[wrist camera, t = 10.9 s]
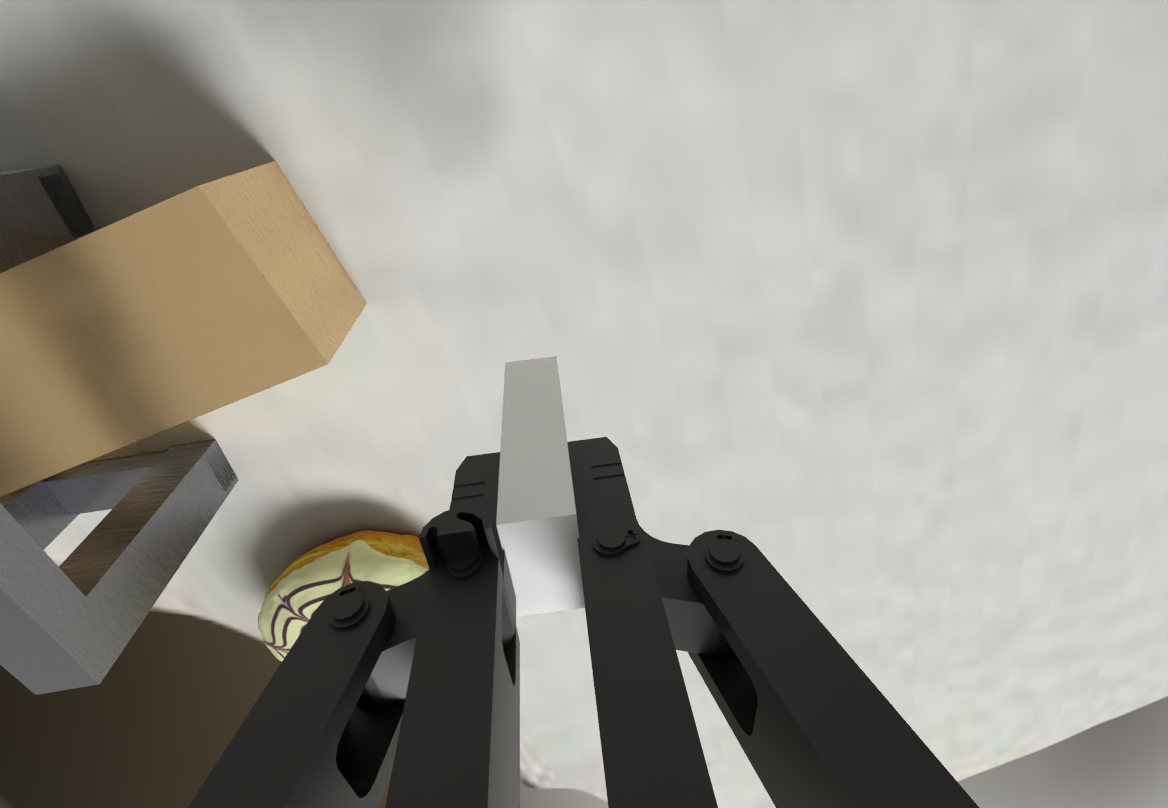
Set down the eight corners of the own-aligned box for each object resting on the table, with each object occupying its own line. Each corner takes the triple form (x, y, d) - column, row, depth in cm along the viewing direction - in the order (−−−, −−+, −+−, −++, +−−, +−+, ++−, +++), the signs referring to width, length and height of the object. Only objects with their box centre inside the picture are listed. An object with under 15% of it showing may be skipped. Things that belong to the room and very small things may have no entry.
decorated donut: (500, 571, 32) (500, 624, 29) (397, 659, 35) (387, 717, 32) (347, 490, 28) (326, 543, 24) (244, 601, 31) (214, 661, 27)
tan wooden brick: (278, 159, 19) (195, 186, 14) (367, 301, 23) (327, 365, 17) (-163, 354, 21) (-384, 442, 16) (-21, 461, 24) (-166, 565, 19)
